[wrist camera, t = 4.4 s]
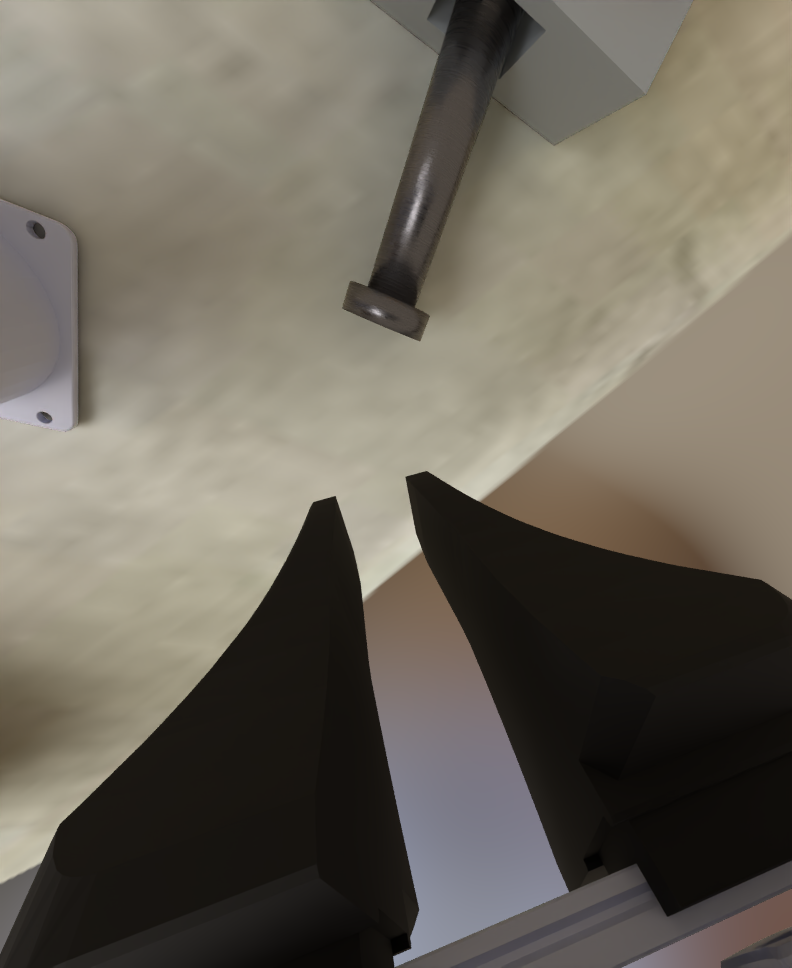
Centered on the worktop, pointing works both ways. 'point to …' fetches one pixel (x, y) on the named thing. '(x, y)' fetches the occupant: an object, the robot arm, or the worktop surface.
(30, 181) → the worktop surface
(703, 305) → the worktop surface
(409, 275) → the pin
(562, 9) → the block
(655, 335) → the worktop surface
